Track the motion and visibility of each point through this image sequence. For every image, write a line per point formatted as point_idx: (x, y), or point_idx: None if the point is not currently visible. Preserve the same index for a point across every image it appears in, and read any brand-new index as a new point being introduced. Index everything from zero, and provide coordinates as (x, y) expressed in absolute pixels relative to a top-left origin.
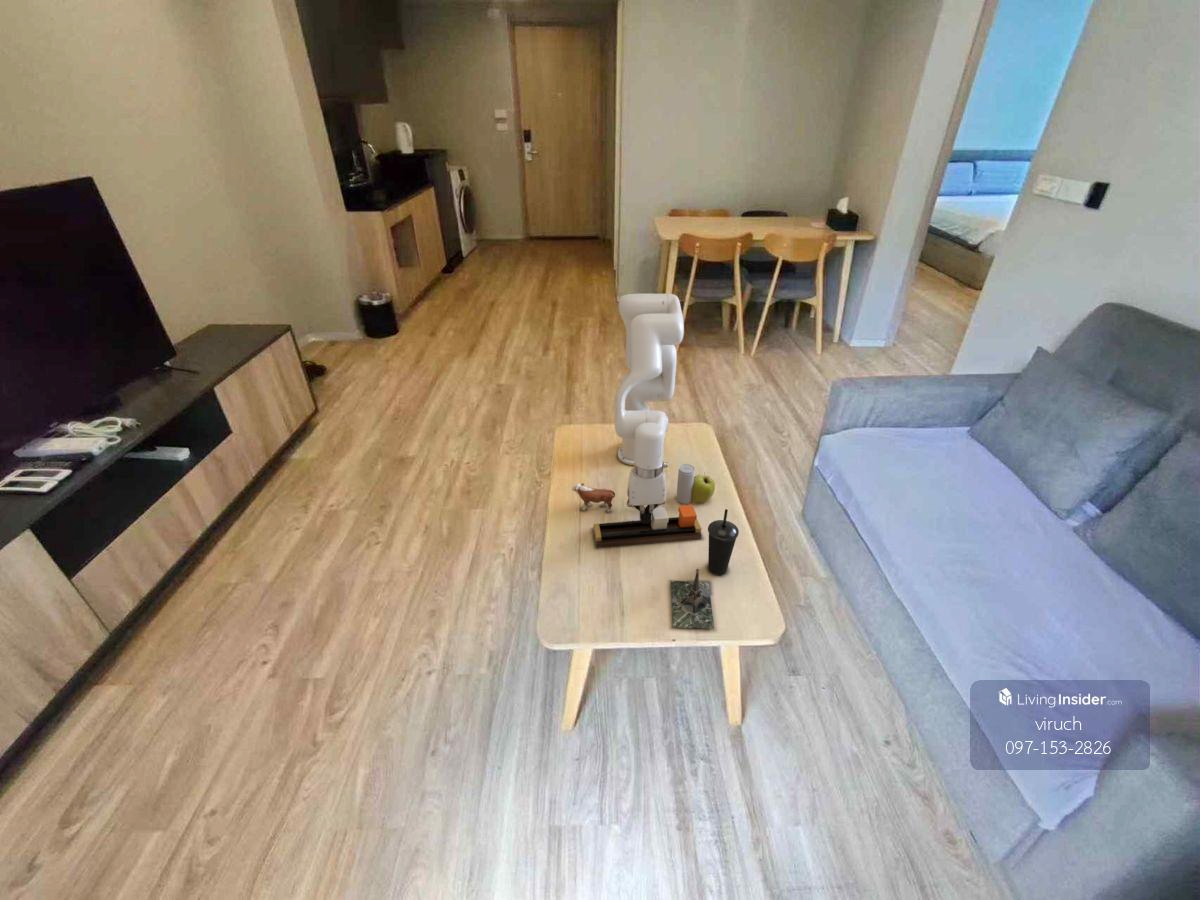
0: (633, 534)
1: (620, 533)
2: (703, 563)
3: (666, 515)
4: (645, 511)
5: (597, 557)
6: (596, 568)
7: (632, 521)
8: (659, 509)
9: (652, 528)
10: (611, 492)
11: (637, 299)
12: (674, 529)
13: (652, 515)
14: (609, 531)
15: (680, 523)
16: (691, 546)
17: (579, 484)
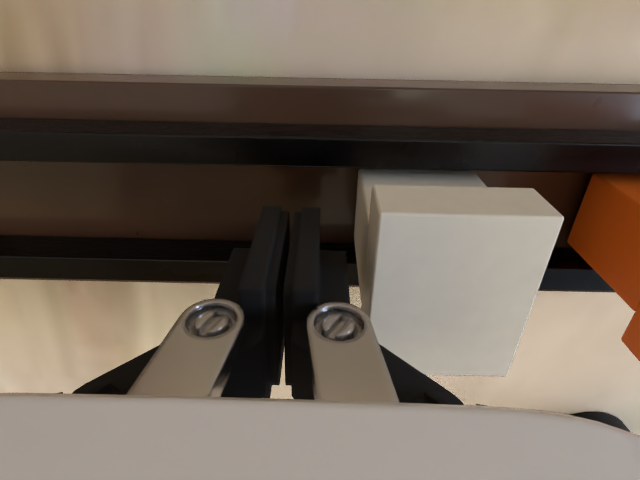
0: (198, 278)
1: (95, 267)
2: (540, 408)
3: (505, 345)
4: (274, 357)
5: (11, 319)
6: (25, 376)
7: (193, 143)
8: (476, 250)
9: (356, 232)
10: None
11: None
12: None
13: (367, 278)
14: (19, 175)
15: (598, 256)
16: (552, 316)
17: None
